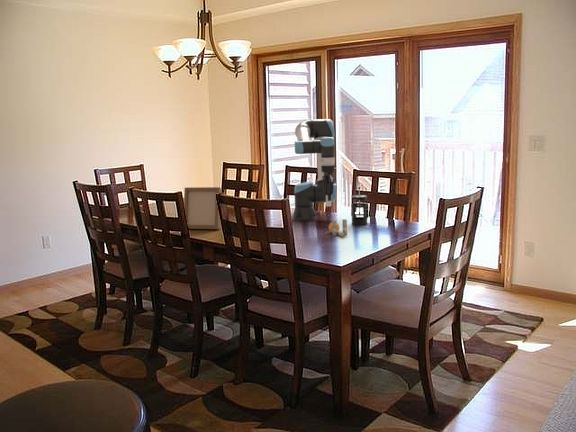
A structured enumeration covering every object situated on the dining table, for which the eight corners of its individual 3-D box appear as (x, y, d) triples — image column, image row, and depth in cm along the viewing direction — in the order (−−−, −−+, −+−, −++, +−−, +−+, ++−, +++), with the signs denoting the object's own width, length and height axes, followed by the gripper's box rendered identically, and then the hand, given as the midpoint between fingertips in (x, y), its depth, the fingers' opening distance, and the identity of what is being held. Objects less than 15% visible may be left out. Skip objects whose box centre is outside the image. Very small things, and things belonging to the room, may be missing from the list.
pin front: (334, 231, 306) (340, 234, 298) (338, 229, 307) (344, 232, 298) (336, 235, 307) (341, 238, 299) (339, 233, 307) (345, 236, 299)
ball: (331, 227, 306) (330, 235, 310) (341, 226, 307) (340, 234, 311) (327, 220, 310) (326, 228, 314) (338, 219, 311) (336, 227, 315)
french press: (358, 226, 326) (357, 187, 322) (347, 224, 334) (347, 186, 330) (372, 223, 333) (372, 185, 329) (362, 221, 340) (361, 184, 336)
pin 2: (341, 234, 306) (341, 219, 304) (346, 234, 307) (345, 218, 305) (343, 235, 304) (343, 220, 302) (347, 234, 304) (347, 219, 303)
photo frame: (217, 230, 327) (215, 188, 323) (183, 230, 332) (180, 188, 328) (226, 225, 342) (224, 185, 337) (193, 225, 346) (190, 185, 342)
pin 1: (331, 235, 304) (331, 220, 303) (335, 235, 305) (335, 219, 303) (333, 236, 302) (333, 221, 300) (337, 235, 303) (337, 220, 301)
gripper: (317, 164, 318) (318, 204, 322) (325, 166, 305) (326, 208, 310) (330, 163, 320) (330, 203, 324) (338, 165, 307) (339, 207, 312)
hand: (328, 206), depth 317 cm, fingers closed
